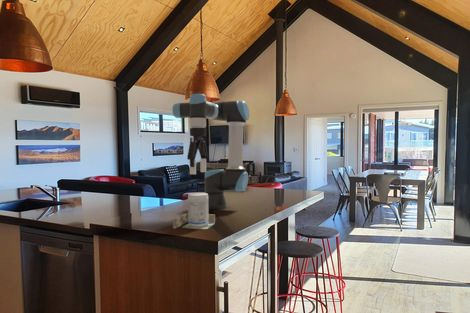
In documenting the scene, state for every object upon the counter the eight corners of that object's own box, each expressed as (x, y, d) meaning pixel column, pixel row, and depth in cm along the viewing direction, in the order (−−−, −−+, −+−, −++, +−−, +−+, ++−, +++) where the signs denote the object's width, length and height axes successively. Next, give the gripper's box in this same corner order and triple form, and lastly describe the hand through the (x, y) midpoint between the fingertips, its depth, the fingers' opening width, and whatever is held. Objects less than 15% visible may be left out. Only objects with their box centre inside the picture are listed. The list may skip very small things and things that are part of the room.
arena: (186, 221, 166) (186, 213, 166) (216, 222, 162) (216, 214, 162) (172, 228, 151) (172, 219, 151) (205, 230, 147) (205, 221, 147)
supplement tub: (195, 222, 162) (194, 192, 161) (212, 223, 158) (212, 193, 157) (184, 226, 153) (183, 194, 152) (202, 228, 149) (201, 195, 148)
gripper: (199, 129, 167) (200, 171, 168) (179, 126, 143) (179, 175, 144) (214, 128, 166) (214, 171, 166) (195, 125, 141) (196, 175, 142)
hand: (198, 173), depth 155 cm, fingers open, 13 cm apart
